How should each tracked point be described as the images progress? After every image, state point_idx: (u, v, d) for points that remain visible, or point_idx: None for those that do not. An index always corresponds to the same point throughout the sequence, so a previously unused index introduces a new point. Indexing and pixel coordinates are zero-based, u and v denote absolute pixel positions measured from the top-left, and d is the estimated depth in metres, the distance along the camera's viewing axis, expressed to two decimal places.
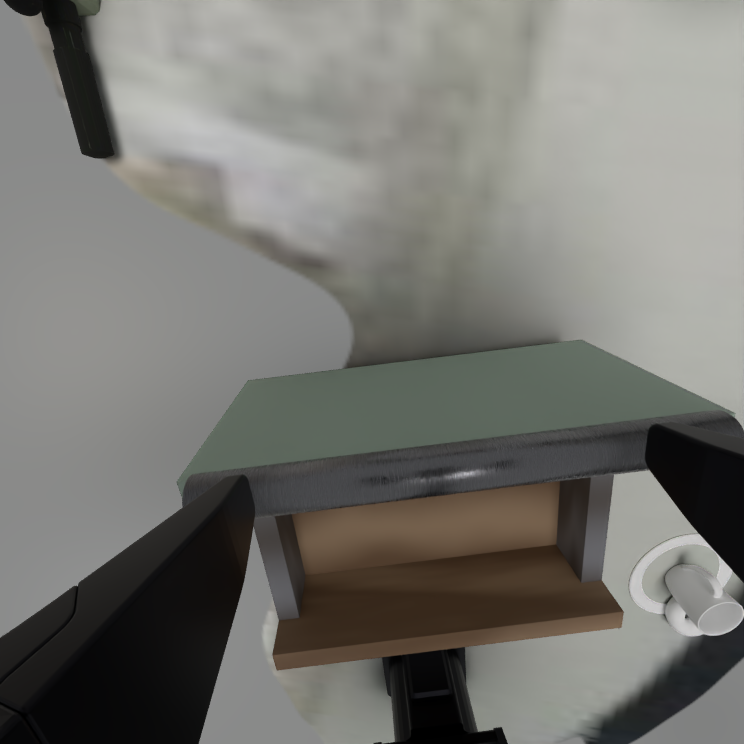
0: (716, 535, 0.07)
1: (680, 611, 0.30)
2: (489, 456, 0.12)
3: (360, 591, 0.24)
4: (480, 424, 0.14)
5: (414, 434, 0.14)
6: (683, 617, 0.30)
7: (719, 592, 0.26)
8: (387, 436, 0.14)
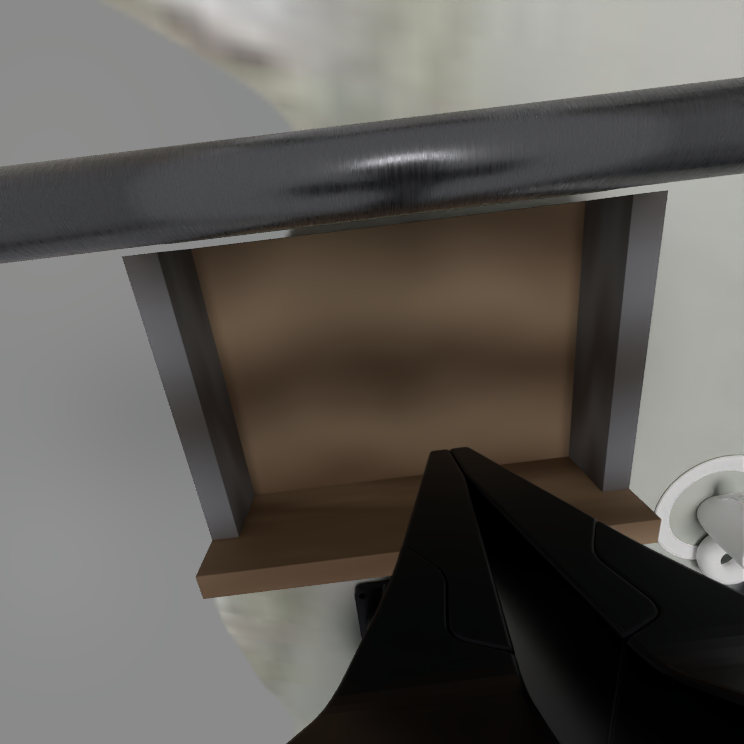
0: None
1: (715, 553, 0.25)
2: (474, 116, 0.07)
3: (320, 508, 0.19)
4: None
5: None
6: (719, 560, 0.25)
7: None
8: None
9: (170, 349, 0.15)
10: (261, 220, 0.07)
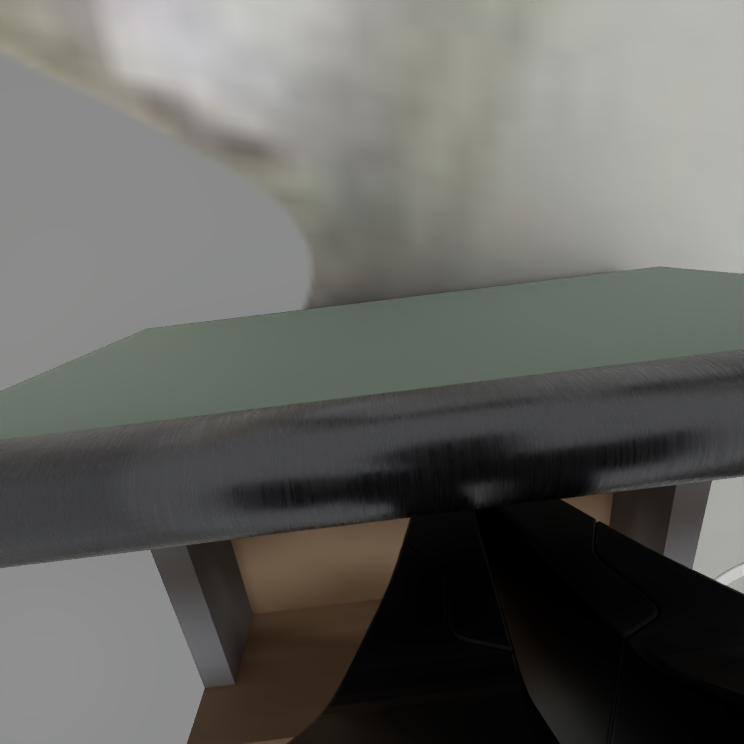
0: None
1: None
2: (577, 407, 0.04)
3: (327, 641, 0.17)
4: (531, 355, 0.06)
5: (387, 376, 0.06)
6: None
7: None
8: (329, 380, 0.06)
9: None
10: (255, 536, 0.05)
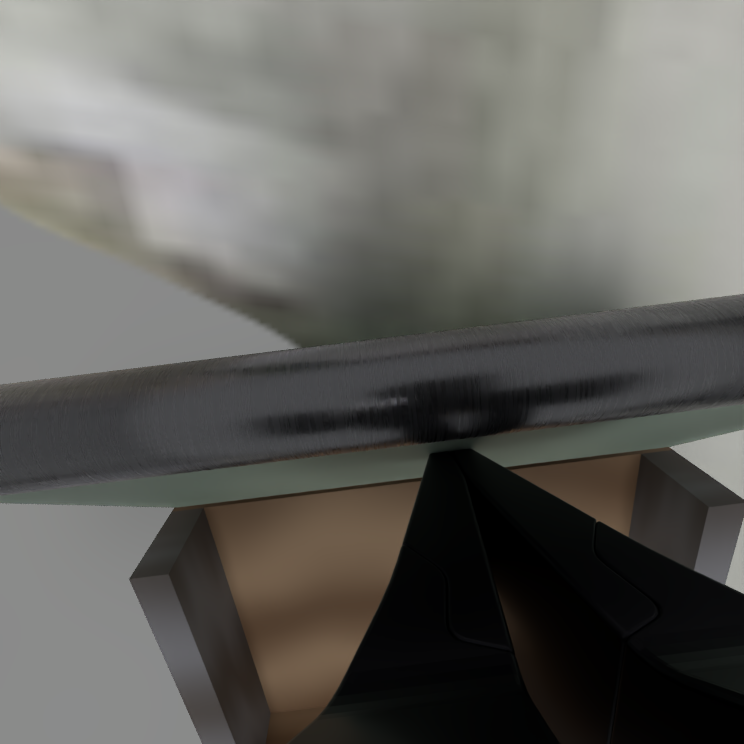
0: None
1: None
2: (528, 322, 0.06)
3: None
4: None
5: None
6: None
7: None
8: None
9: (183, 652, 0.13)
10: (251, 444, 0.05)
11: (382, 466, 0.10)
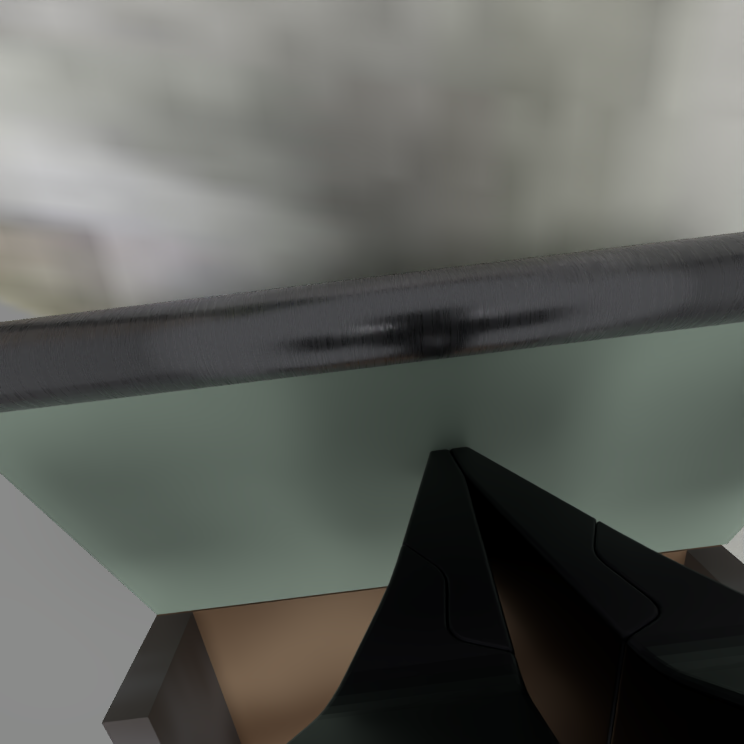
0: None
1: None
2: None
3: None
4: None
5: None
6: None
7: None
8: None
9: None
10: (260, 330, 0.06)
11: (385, 490, 0.09)
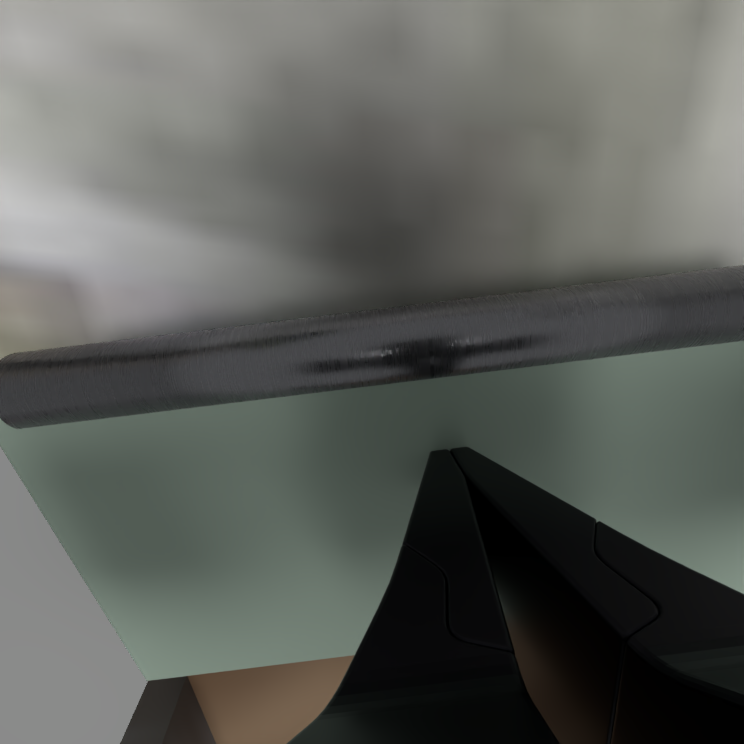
0: None
1: None
2: None
3: None
4: None
5: None
6: None
7: None
8: None
9: None
10: (277, 348, 0.07)
11: (389, 521, 0.09)
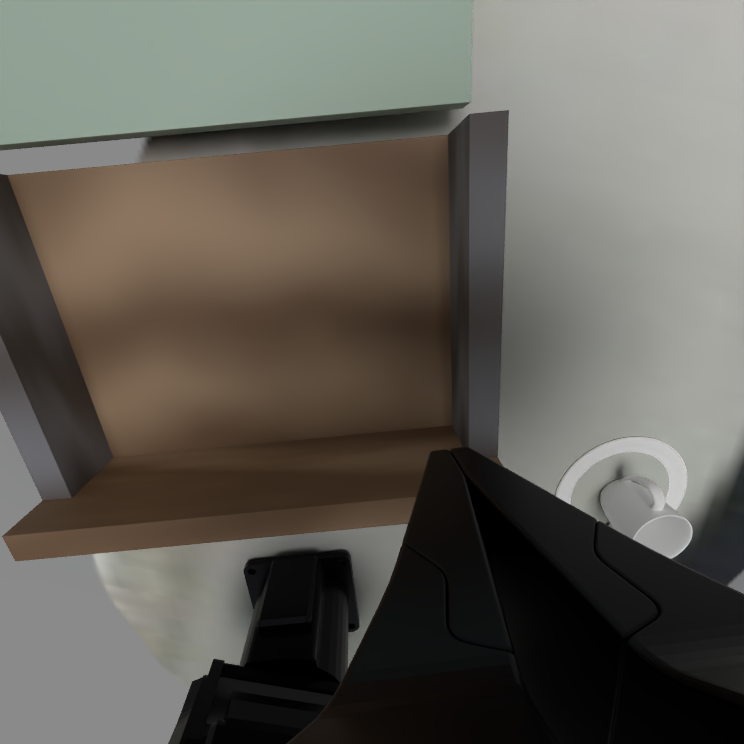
0: None
1: None
2: None
3: (171, 471, 0.17)
4: None
5: None
6: None
7: (660, 502, 0.20)
8: None
9: None
10: None
11: None
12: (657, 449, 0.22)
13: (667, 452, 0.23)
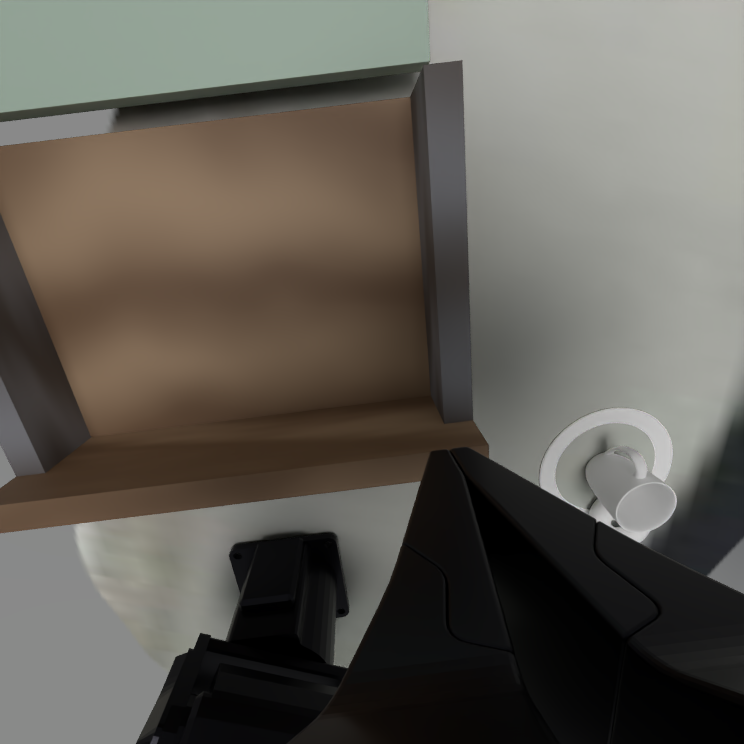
0: None
1: (604, 514, 0.23)
2: None
3: (147, 446, 0.17)
4: None
5: None
6: (608, 522, 0.23)
7: (642, 470, 0.20)
8: None
9: None
10: None
11: None
12: (640, 420, 0.22)
13: (650, 423, 0.22)
